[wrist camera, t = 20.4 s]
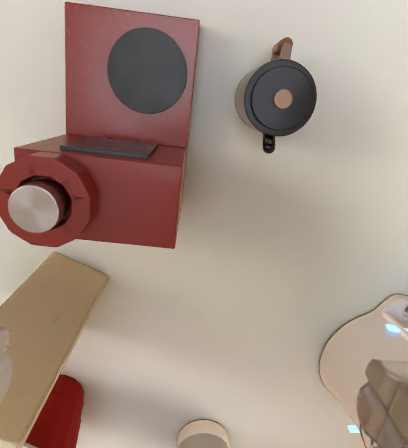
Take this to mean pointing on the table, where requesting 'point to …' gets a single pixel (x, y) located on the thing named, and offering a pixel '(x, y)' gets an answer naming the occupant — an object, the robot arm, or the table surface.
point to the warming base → (128, 80)
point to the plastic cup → (58, 417)
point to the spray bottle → (203, 435)
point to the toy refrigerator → (43, 337)
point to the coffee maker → (102, 193)
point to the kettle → (276, 96)
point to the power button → (38, 205)
